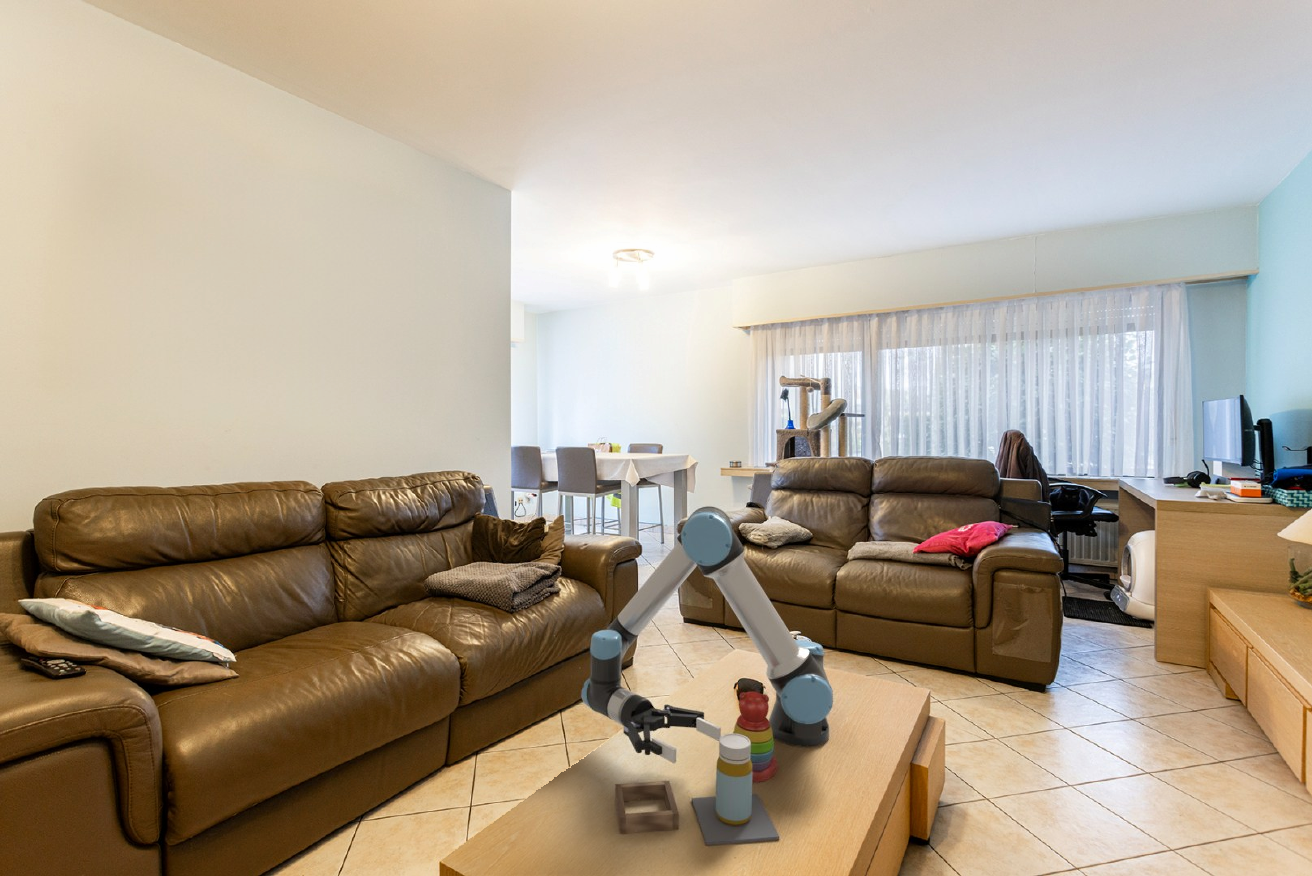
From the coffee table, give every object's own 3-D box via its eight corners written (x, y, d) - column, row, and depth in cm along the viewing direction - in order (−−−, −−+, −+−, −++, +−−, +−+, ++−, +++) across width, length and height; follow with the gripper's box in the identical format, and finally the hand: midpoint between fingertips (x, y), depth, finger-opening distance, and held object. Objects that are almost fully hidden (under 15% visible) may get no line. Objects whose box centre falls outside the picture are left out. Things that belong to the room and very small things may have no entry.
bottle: (750, 829, 120) (751, 752, 119) (713, 824, 121) (715, 747, 121) (752, 808, 126) (753, 734, 126) (717, 803, 128) (719, 730, 128)
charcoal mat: (757, 796, 132) (757, 793, 132) (779, 839, 118) (779, 836, 118) (691, 801, 130) (691, 798, 130) (706, 845, 116) (706, 842, 116)
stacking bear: (778, 762, 145) (779, 686, 145) (775, 786, 136) (776, 704, 135) (731, 755, 148) (733, 681, 148) (725, 778, 138) (726, 698, 138)
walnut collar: (669, 794, 132) (669, 780, 132) (678, 829, 120) (678, 813, 120) (615, 798, 130) (615, 784, 130) (619, 833, 119) (619, 818, 119)
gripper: (669, 710, 155) (736, 743, 139) (588, 744, 138) (654, 785, 122) (669, 680, 155) (736, 709, 139) (588, 710, 138) (654, 747, 122)
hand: (698, 745), depth 131 cm, fingers open, 13 cm apart
